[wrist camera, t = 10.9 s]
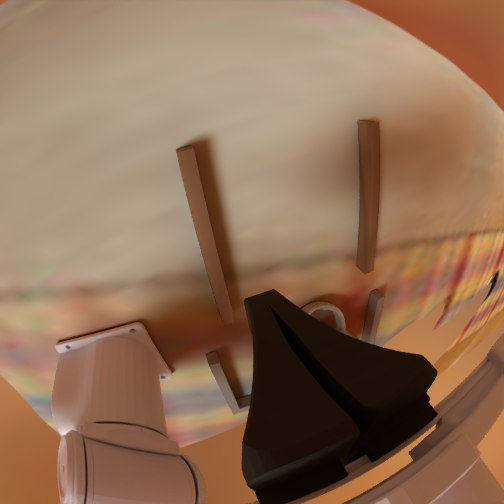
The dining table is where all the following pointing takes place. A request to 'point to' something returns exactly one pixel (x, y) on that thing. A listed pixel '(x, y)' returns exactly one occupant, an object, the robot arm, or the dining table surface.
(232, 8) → the dining table surface
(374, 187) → the walnut dock
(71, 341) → the robot arm
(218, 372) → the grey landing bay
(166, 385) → the dining table surface
